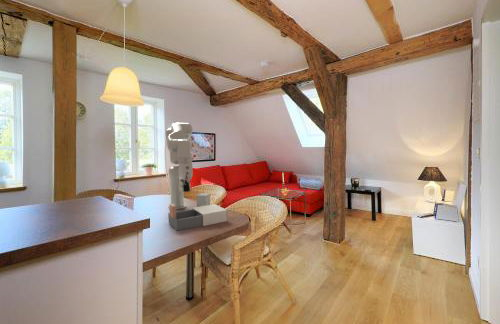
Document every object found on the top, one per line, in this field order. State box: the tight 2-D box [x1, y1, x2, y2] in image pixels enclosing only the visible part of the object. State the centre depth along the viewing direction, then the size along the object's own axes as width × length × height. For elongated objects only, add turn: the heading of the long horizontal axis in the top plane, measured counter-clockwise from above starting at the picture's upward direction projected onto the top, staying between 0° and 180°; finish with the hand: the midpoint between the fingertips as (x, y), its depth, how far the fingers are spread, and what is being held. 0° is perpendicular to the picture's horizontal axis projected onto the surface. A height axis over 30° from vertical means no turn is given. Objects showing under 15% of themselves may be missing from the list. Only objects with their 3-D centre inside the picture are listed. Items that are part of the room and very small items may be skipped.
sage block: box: [179, 181, 191, 193], centre depth 146 cm, size 5×5×6 cm
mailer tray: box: [168, 203, 203, 231], centre depth 148 cm, size 16×19×13 cm
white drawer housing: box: [191, 203, 228, 227], centre depth 157 cm, size 18×16×7 cm
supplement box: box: [196, 192, 211, 207], centre depth 174 cm, size 7×7×13 cm
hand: (184, 190), depth 146 cm, fingers closed on sage block, 5 cm apart
